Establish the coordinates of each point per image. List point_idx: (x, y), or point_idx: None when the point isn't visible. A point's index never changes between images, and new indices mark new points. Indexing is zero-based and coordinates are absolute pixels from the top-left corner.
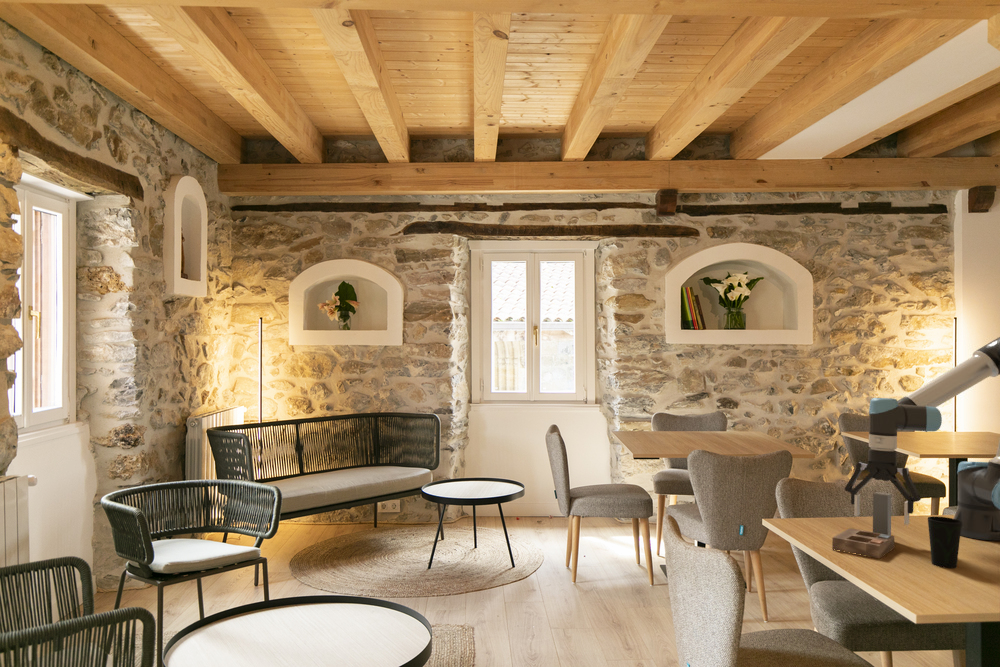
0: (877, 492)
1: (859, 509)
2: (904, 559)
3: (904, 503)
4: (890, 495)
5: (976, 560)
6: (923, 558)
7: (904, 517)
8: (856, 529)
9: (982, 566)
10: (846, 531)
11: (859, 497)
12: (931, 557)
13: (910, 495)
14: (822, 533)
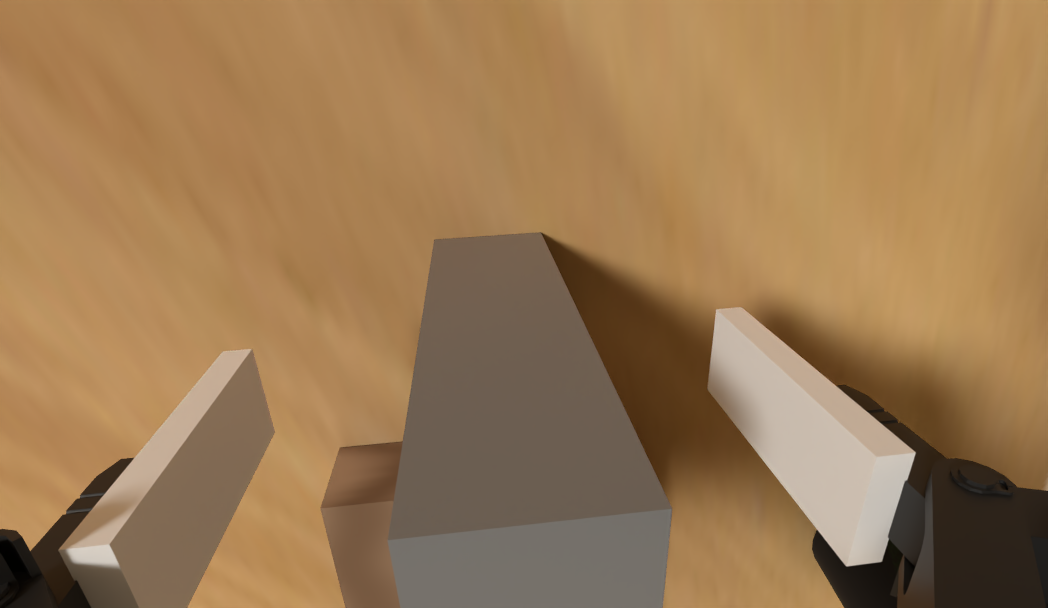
0: (425, 580)
1: (226, 386)
2: (697, 579)
3: (835, 551)
4: (659, 538)
5: (1031, 320)
6: (773, 498)
7: (742, 431)
8: (373, 506)
9: (1032, 419)
10: (358, 602)
11: (149, 514)
12: (828, 575)
13: (1022, 556)
14: (113, 423)
